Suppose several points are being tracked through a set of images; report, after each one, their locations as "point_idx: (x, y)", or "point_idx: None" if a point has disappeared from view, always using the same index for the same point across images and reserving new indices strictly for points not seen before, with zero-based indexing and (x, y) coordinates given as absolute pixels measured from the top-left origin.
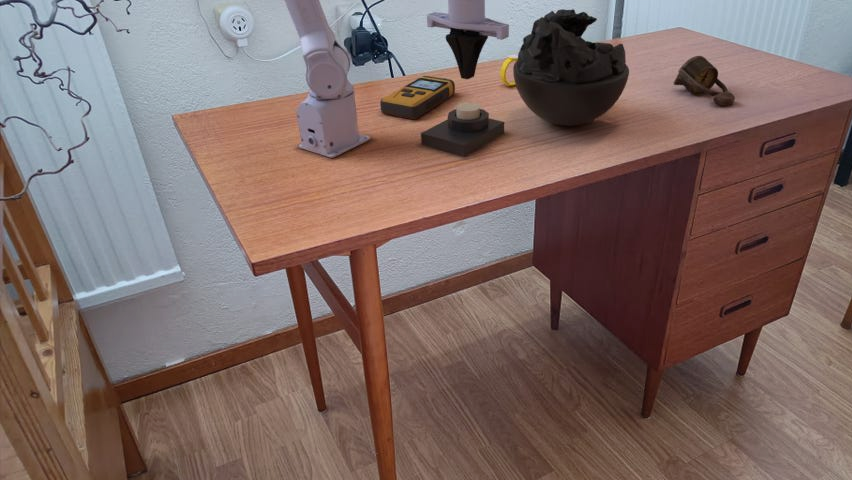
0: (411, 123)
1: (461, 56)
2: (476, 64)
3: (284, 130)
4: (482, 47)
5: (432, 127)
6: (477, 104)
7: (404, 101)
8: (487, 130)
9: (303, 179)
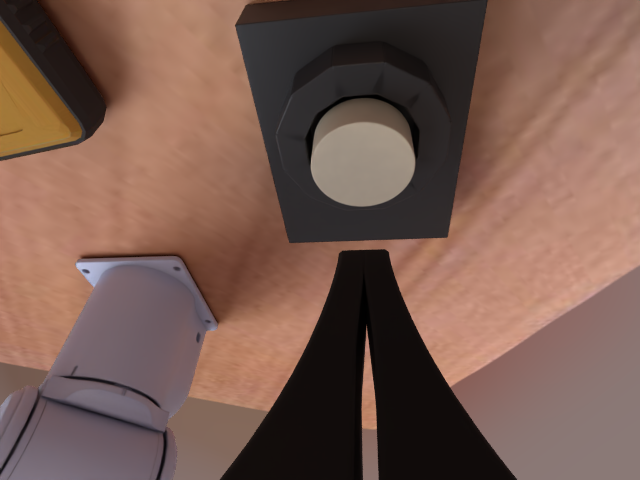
0: (126, 128)
1: (361, 414)
2: (403, 302)
3: (23, 299)
4: (464, 411)
5: (282, 204)
6: (380, 126)
7: (29, 140)
8: (459, 124)
9: (256, 364)
